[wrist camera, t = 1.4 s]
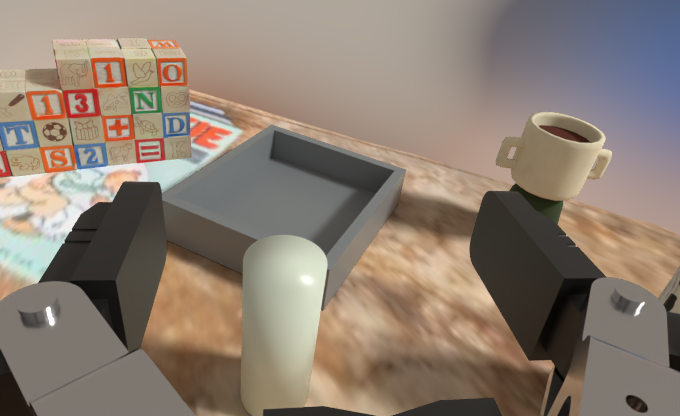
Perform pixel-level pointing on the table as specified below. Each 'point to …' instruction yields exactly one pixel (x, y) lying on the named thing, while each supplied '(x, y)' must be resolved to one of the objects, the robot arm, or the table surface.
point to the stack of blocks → (96, 107)
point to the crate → (284, 201)
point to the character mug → (554, 160)
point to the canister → (280, 321)
